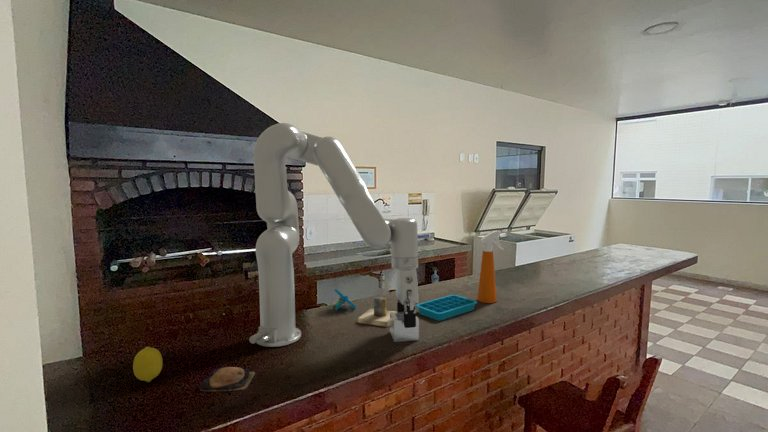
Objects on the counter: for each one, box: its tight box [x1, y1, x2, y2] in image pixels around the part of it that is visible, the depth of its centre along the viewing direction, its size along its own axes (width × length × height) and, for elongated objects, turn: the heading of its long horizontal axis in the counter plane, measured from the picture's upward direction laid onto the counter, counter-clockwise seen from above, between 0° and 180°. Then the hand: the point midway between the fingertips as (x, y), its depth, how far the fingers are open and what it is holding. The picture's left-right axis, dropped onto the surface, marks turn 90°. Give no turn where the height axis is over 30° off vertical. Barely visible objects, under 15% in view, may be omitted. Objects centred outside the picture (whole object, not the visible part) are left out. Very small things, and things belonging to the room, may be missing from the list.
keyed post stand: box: [357, 296, 396, 328], centre depth 121 cm, size 10×10×7 cm
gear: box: [334, 288, 357, 311], centre depth 131 cm, size 11×6×10 cm
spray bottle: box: [476, 230, 505, 304], centre depth 140 cm, size 7×11×26 cm, turn 112°
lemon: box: [132, 346, 163, 383], centre depth 82 cm, size 6×6×8 cm
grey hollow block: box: [389, 311, 420, 343], centre depth 107 cm, size 7×7×6 cm
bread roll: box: [197, 366, 256, 392], centre depth 83 cm, size 11×8×4 cm
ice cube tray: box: [415, 294, 478, 321], centre depth 129 cm, size 12×20×3 cm, turn 128°
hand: (406, 320), depth 107 cm, fingers open, 9 cm apart
